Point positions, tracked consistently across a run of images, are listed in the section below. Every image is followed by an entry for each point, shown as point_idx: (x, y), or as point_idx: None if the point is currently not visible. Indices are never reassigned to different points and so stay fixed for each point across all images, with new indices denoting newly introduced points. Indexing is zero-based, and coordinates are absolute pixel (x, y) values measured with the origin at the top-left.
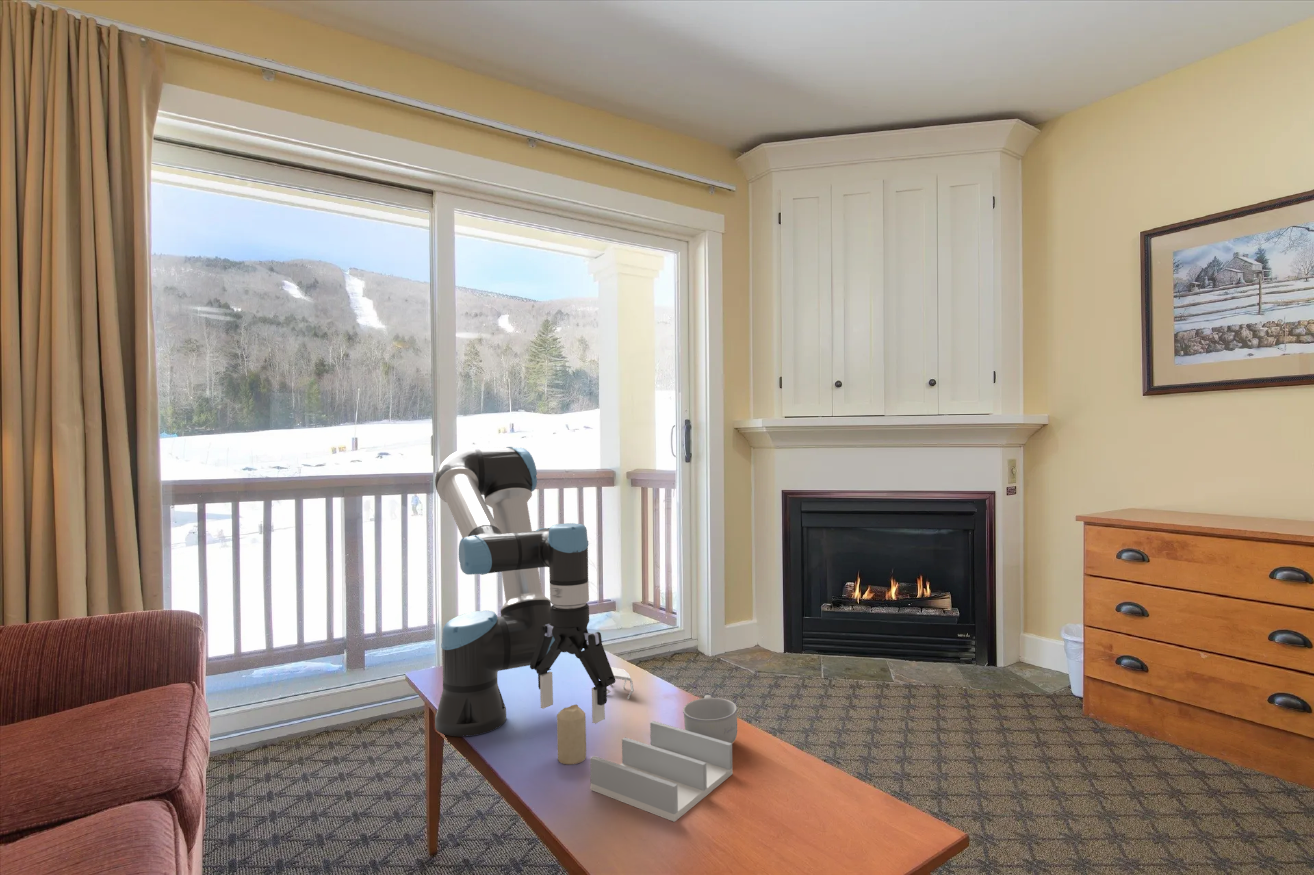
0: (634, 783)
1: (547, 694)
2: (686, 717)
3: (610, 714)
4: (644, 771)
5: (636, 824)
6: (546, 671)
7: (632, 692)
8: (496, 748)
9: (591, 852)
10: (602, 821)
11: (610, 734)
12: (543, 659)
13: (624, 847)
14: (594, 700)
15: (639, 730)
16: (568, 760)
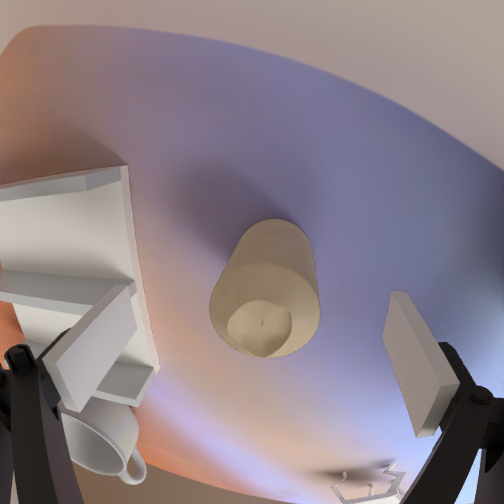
0: (10, 185)
1: (400, 343)
2: (89, 421)
3: (339, 433)
4: (82, 274)
5: (15, 141)
6: (443, 425)
7: (334, 484)
8: (475, 191)
9: (24, 46)
10: (49, 105)
11: (280, 382)
12: (467, 472)
13: (2, 90)
14: (71, 328)
15: (241, 413)
16: (254, 225)
